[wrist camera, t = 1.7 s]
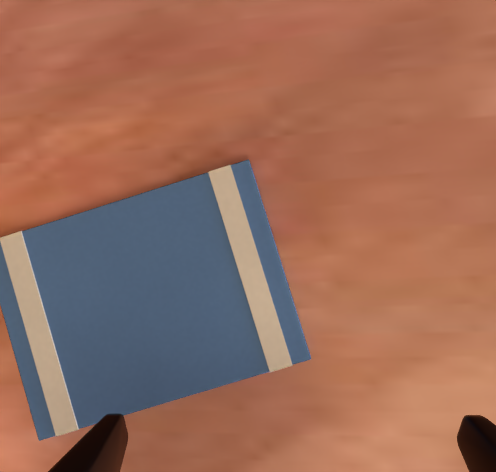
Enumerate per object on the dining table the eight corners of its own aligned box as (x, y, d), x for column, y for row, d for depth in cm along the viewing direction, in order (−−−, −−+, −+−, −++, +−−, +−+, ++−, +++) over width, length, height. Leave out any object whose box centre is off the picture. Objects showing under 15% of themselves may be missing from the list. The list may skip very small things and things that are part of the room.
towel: (44, 436, 24) (37, 442, 23) (-11, 243, 25) (-19, 243, 24) (310, 356, 24) (311, 359, 23) (249, 161, 24) (248, 158, 23)
